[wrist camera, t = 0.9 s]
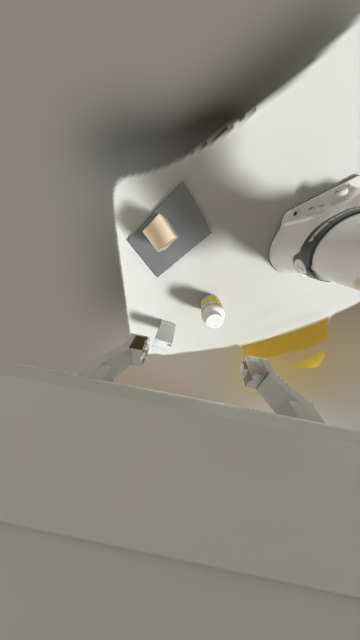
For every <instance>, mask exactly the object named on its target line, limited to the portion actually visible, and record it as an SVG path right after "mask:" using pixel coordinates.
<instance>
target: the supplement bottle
mask: <svg viewBox="0 0 360 640" xmlns="http://www.w3.org/2000/svg"><path fill="white" fill-rule="evenodd" d="M201 312H202V319H203V321H204V322H205V323H206V324H207V326H208V327H210V328H218V327H220V326H221V325H222V324H223V319H224V315H225V313H224V310H223V308H222V305H221V303H220V300H219V299H218V297H216V296H215V295H207V296H205V297H204V298H203V299H202V301H201Z"/></svg>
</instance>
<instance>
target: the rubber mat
mask: <svg viewBox="0 0 360 640" xmlns="http://www.w3.org/2000/svg"><path fill="white" fill-rule="evenodd" d="M158 214H160V215H162V216H163V217H165V218H166V219H168V220H169V222H170V224H171V225H172V227H173V228H174V230H175V231H176V233H177V234H178V236H179V238H178V239H177V240H176V241H174V242H173V243H172V244H171V245H170V246H169V247H168V248H167V249H165V250H162V251H159V252H157V250H156V249H155V248H154V246H153V245H152V244H151V242H150V241H149V240H148V238H147V237H146V236H145V234H144V233H143V230H144V229H145V228H146V227H147V226H148V225H149V224H150V223H151V222H152V221H153V220H154V219H155V218H156V217H157V215H158ZM210 233H211V231H210V230H209V228H208V226H207V224H206V222H205V221H204V219H203V217H202V215H201V213H200V212H199V210H198V208H197V206H196V204H195V203H194V201H193V199H192V197H191V195H190V194H189V192H188V190H187V188H186V186H185V185H184V183H183V181H182V182H181V183H180V184H179V185H178V186H177V187H176V189H175V190H174V191H173V192H172V193H171V194H170V195H169V196H168V197H167V198H166V200H165V201H164V202H163V203H162V204H161V205H160V206H159V207H158V208H157V209H156V211H155V212H154V213H153V214H152V215H151V216H150V217H149V218H148V219H147V220H146V221H145V223H144V224H143V225H142V226H141V227H140V228H139V229H138V230H137V231H136V232H135V234H134V235H133V236H132V237H131V238H130V239H129V240H128V241H129V242H130V244H131V245H132V246H133V247H134V249H135V250H136V251H137V252H138V253H139V255H140V256H141V257H142V258H143V260H144V261H145V262H146V263H147V265H148V266H149V267H150V268H151V270H152V271H153V272H154V273H155V275H156V276H157V277H158V276H160V275H161V274H162V273H163V272H164V271H166V270H167V269H168V268H169V267H170V266H172V265H173V264H174V263H175V262H176V261H178V260H179V259H180V258H181V257H183V256H184V255H185V254H186V253H187V252H189V251H190V250H191V249H192V248H193V247H195V246H196V245H197V244H198V243H199V242H201V241H202V240H203V239H204V238H205V237H207V236H208V235H209V234H210Z"/></svg>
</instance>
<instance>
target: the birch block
mask: <svg viewBox="0 0 360 640" xmlns="http://www.w3.org/2000/svg"><path fill="white" fill-rule="evenodd" d="M143 233H144V234H145V236H146V237H147V238H148V240H149V241H150V242H151V244H152V245H153V246H154V248H155V249H156V250H157V252H159V251H162V250H165V249H167V248H168V247H169V246H170V245H171V244H172V243H173V242H174V241H176V240H177V239H178V238H179V236H178V234H177V233H176V231H175V230H174V228H173V227H172V225H171V224H170V222H169V220H168V219H166V218H165V217H163V216H162V215H160V214H158V215H157V217H156V218H155V219H154V220H153V221H152V222H151V223H150V224H149V225H148V226H147V227H146V228H145V229H144V230H143Z"/></svg>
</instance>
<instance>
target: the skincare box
mask: <svg viewBox="0 0 360 640" xmlns="http://www.w3.org/2000/svg"><path fill="white" fill-rule="evenodd" d="M175 327H176V325H175V324H172V323H169V322H166V321H163V320H162V321H161V324H160V327H159V329H158V332H157V335H156V337H155V340H154V344H153V347H154V348H158V349H161V350H164V351H167V352H169V351H170V348H171V346H172V343H173V337H174V332H175Z"/></svg>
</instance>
